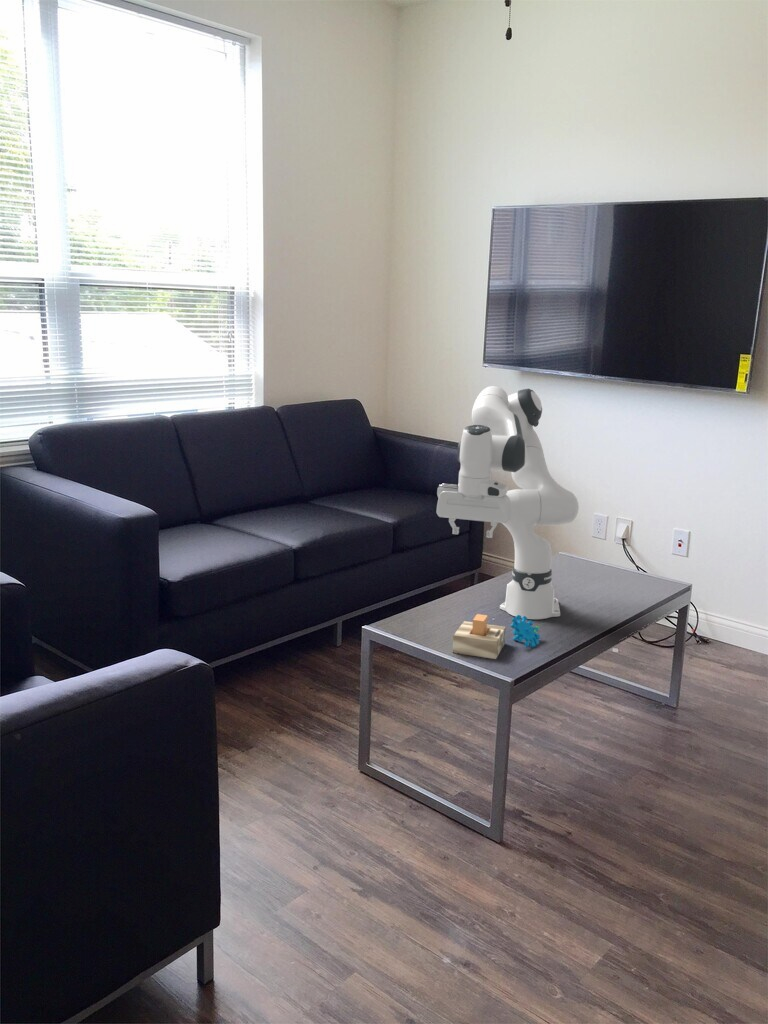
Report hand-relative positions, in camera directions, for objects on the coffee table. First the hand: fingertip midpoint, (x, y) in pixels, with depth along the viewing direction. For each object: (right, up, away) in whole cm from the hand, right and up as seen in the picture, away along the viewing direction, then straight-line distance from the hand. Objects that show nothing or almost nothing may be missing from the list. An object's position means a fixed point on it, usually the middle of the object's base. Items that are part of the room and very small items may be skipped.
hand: (472, 535), depth 237 cm
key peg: (+2, -31, +3) cm, 32 cm away
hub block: (+2, -31, +3) cm, 32 cm away
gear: (+16, -31, +7) cm, 35 cm away
